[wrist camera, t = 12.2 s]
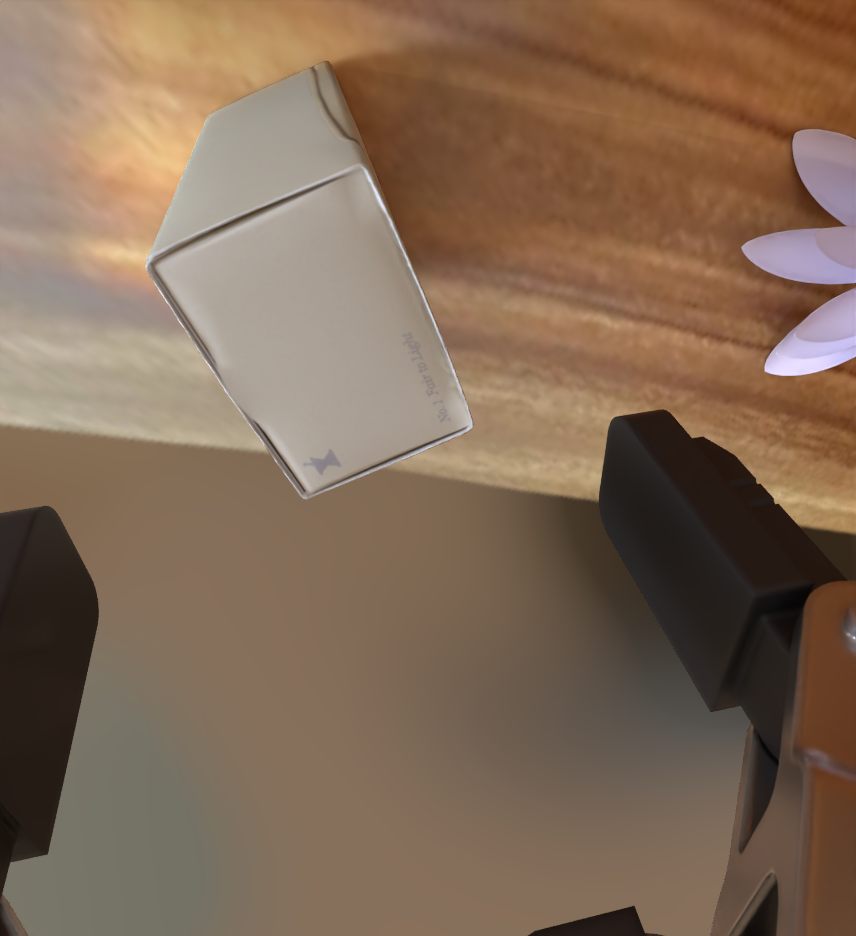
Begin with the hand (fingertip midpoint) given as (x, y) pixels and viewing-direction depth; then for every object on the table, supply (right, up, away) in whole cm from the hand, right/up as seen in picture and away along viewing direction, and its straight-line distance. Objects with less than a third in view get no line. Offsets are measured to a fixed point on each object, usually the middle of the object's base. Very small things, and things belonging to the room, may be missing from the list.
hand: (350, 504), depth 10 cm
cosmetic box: (-3, +10, +13) cm, 17 cm away
